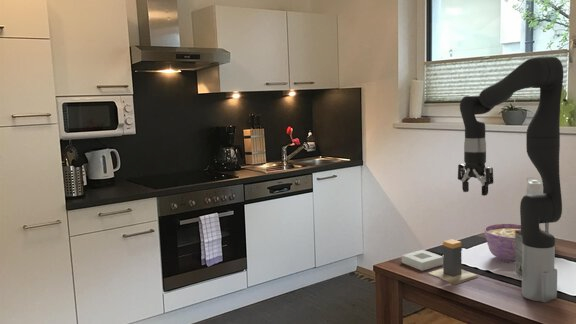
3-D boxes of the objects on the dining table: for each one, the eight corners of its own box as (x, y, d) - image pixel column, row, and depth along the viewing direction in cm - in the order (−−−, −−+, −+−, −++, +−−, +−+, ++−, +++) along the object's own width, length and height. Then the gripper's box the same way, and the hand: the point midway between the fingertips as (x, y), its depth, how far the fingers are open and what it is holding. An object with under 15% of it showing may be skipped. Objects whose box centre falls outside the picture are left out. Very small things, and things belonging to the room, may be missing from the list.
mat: (477, 277, 181) (477, 275, 180) (453, 284, 175) (453, 282, 175) (451, 267, 191) (451, 265, 191) (428, 274, 185) (427, 272, 185)
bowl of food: (528, 250, 206) (529, 222, 204) (549, 267, 186) (549, 237, 184) (477, 251, 208) (477, 224, 206) (492, 268, 188) (492, 238, 186)
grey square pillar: (461, 274, 182) (461, 241, 180) (452, 276, 180) (452, 244, 178) (452, 270, 186) (451, 239, 184) (443, 273, 184) (443, 241, 182)
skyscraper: (534, 244, 212) (535, 179, 208) (519, 239, 220) (520, 176, 216) (550, 242, 215) (551, 177, 211) (535, 237, 223) (536, 174, 219)
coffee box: (539, 271, 183) (540, 228, 181) (549, 278, 176) (550, 233, 174) (514, 273, 183) (515, 230, 180) (523, 279, 176) (523, 235, 174)
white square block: (443, 265, 194) (443, 256, 193) (422, 271, 188) (422, 262, 188) (422, 258, 203) (422, 249, 203) (401, 263, 198) (401, 255, 198)
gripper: (452, 149, 190) (452, 192, 192) (484, 152, 177) (483, 198, 179) (466, 147, 193) (466, 189, 195) (498, 150, 181) (498, 195, 183)
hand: (475, 193), depth 187 cm, fingers open, 8 cm apart
